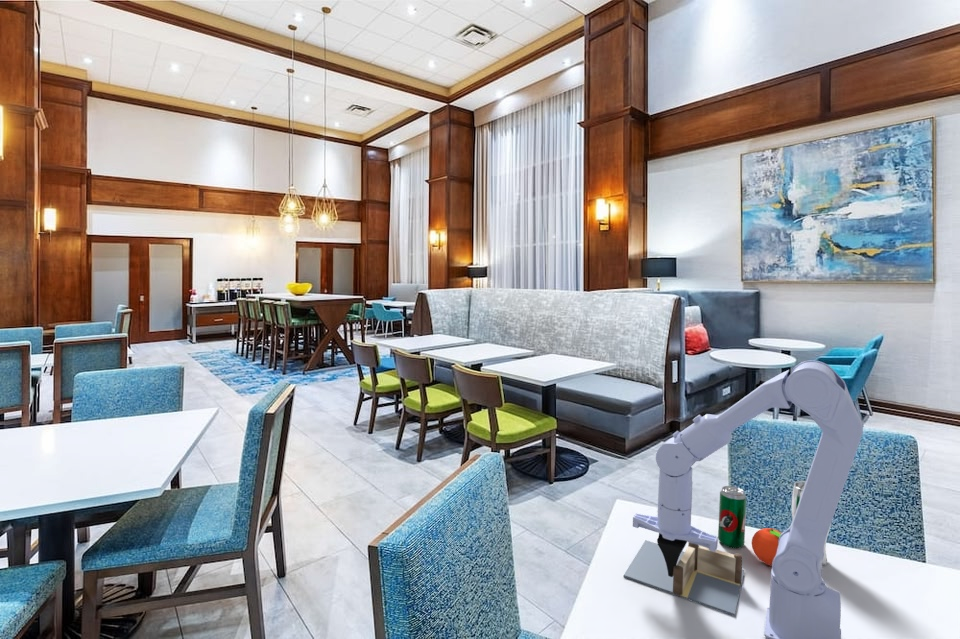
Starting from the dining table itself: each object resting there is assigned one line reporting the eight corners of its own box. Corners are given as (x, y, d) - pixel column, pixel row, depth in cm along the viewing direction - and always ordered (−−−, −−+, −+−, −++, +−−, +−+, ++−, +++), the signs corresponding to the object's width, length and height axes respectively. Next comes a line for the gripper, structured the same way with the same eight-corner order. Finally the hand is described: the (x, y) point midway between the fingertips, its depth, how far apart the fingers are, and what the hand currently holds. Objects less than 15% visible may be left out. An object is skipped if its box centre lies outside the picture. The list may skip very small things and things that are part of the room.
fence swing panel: (686, 567, 93) (687, 544, 93) (695, 570, 92) (696, 547, 92) (671, 592, 86) (672, 568, 85) (680, 596, 85) (681, 571, 84)
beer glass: (795, 564, 95) (799, 492, 94) (784, 546, 102) (787, 478, 101) (836, 570, 93) (840, 497, 92) (822, 551, 100) (826, 482, 99)
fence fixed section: (741, 580, 90) (743, 554, 89) (740, 585, 88) (742, 559, 88) (688, 564, 95) (689, 539, 95) (686, 568, 93) (687, 543, 93)
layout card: (744, 571, 93) (744, 569, 93) (734, 616, 81) (734, 614, 80) (645, 541, 104) (645, 539, 104) (623, 577, 91) (623, 574, 91)
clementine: (804, 572, 93) (806, 537, 92) (779, 580, 90) (781, 544, 90) (766, 550, 100) (768, 518, 100) (742, 557, 98) (744, 524, 97)
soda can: (747, 551, 100) (750, 496, 99) (721, 548, 101) (724, 494, 100) (739, 538, 105) (742, 486, 104) (715, 536, 106) (717, 484, 105)
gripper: (628, 500, 88) (626, 570, 89) (713, 524, 80) (710, 601, 81) (640, 487, 94) (637, 553, 95) (721, 508, 85) (717, 580, 86)
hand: (671, 573), depth 88 cm, fingers closed
